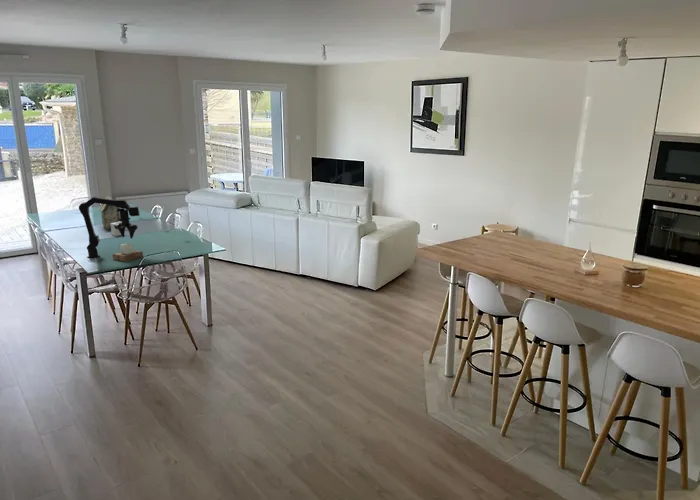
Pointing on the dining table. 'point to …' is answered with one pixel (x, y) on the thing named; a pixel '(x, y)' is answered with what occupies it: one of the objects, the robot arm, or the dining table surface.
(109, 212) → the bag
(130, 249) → the sage cube
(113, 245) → the dining table surface
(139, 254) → the walnut block
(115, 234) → the small box
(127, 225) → the robot arm
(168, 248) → the dining table surface
